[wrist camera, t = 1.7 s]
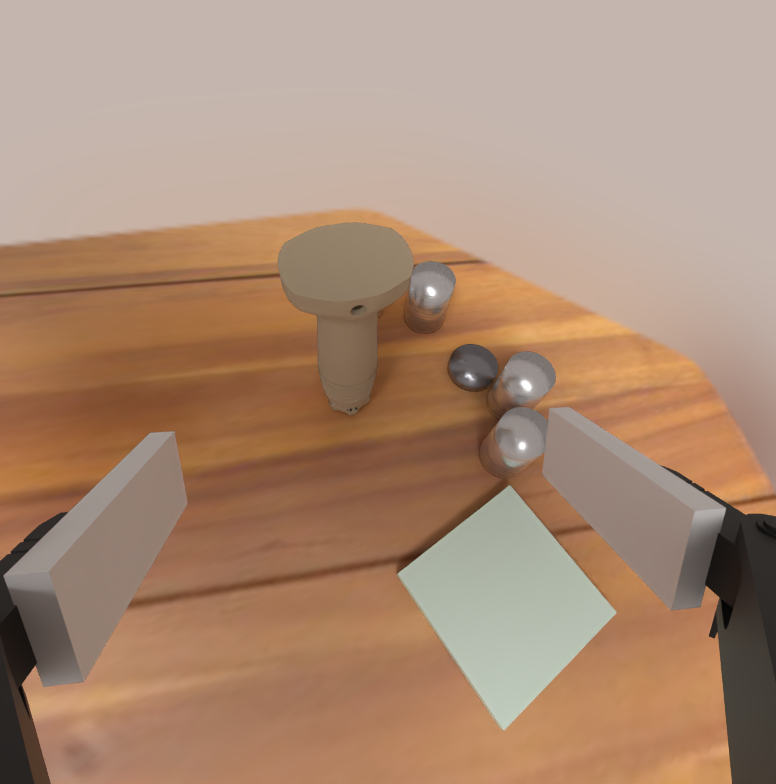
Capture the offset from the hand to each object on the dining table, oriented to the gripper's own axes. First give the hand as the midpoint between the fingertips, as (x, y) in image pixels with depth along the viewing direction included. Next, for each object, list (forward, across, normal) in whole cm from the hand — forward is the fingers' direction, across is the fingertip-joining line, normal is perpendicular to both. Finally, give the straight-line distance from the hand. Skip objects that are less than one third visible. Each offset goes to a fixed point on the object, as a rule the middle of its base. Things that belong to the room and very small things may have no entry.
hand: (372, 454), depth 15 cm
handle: (+18, 0, -4) cm, 19 cm away
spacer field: (+20, +8, -2) cm, 21 cm away
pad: (+8, +9, -15) cm, 19 cm away
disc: (+20, +10, -3) cm, 23 cm away
